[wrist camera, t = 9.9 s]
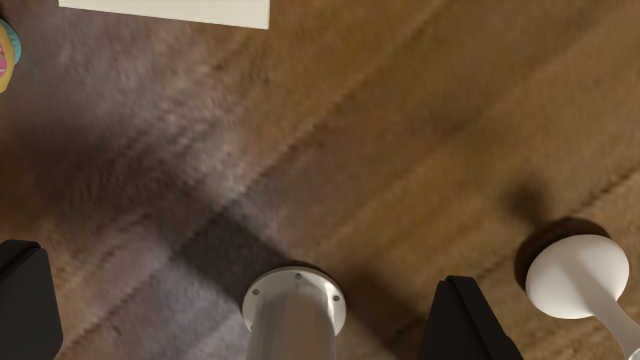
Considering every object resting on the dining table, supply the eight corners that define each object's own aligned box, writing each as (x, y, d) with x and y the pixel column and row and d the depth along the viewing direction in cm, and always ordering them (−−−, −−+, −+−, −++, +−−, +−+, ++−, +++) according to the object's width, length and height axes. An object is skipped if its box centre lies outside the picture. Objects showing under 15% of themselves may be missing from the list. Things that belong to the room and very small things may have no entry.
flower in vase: (636, 240, 48) (934, 465, 25) (584, 314, 52) (795, 563, 29) (535, 212, 46) (754, 425, 23) (490, 291, 50) (635, 536, 27)
